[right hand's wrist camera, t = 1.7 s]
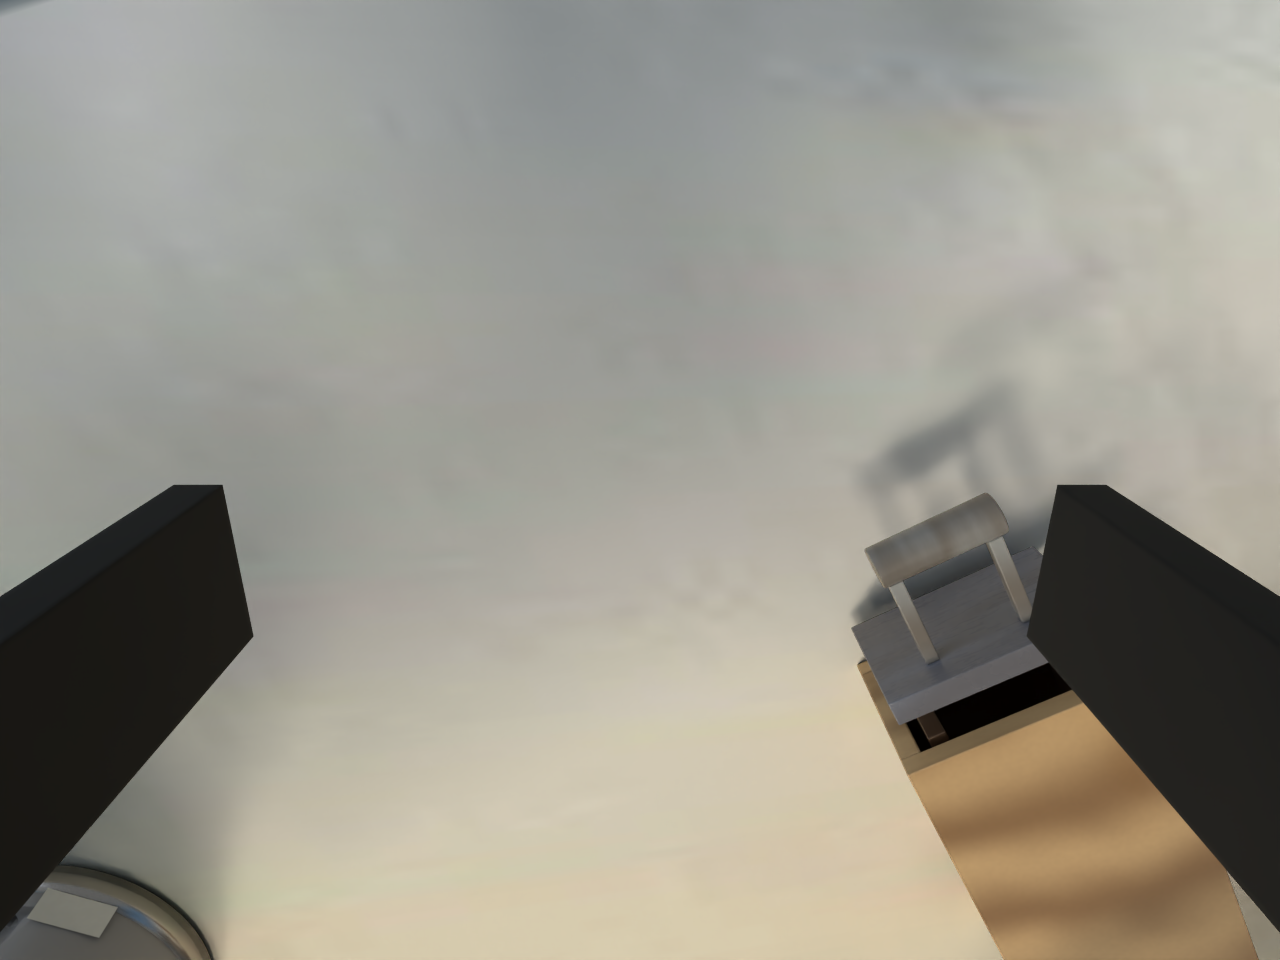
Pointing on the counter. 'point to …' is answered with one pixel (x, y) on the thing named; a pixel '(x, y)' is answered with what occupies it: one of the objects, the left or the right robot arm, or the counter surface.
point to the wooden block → (1069, 840)
